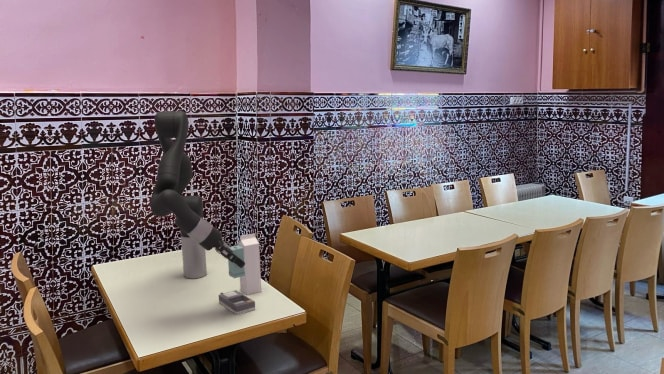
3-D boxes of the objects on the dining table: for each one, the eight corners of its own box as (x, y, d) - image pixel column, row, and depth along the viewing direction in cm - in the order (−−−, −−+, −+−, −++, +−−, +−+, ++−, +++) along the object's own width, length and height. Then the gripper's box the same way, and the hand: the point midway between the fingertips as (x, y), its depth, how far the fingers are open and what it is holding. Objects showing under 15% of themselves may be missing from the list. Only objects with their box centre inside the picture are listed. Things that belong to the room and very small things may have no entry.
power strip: (213, 298, 203) (212, 290, 202) (230, 294, 207) (229, 285, 207) (236, 314, 188) (236, 305, 187) (255, 309, 192) (254, 300, 192)
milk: (261, 291, 209) (259, 235, 205) (246, 295, 206) (243, 237, 202) (254, 286, 214) (252, 231, 210) (239, 290, 211) (237, 234, 207)
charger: (228, 275, 192) (227, 247, 190) (239, 272, 195) (238, 245, 193) (234, 278, 189) (232, 249, 187) (245, 275, 191) (243, 247, 190)
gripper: (215, 230, 179) (253, 260, 186) (208, 220, 192) (244, 249, 199) (199, 248, 178) (238, 278, 185) (193, 237, 191) (230, 265, 198)
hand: (241, 263), depth 192 cm, fingers closed on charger, 5 cm apart
